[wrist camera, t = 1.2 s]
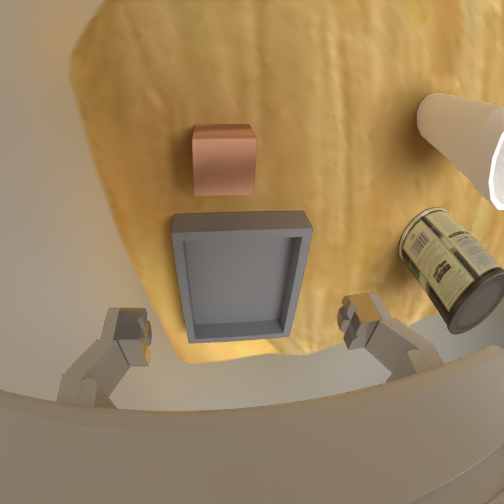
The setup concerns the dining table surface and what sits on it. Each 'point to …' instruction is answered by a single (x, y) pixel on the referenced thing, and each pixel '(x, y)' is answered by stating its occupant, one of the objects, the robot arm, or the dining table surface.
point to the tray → (240, 272)
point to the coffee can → (452, 269)
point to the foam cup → (468, 139)
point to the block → (224, 159)
